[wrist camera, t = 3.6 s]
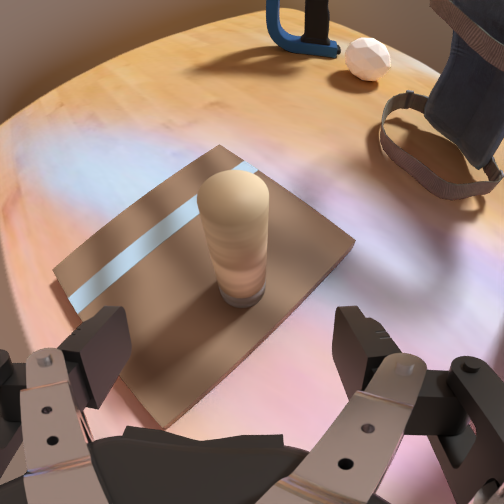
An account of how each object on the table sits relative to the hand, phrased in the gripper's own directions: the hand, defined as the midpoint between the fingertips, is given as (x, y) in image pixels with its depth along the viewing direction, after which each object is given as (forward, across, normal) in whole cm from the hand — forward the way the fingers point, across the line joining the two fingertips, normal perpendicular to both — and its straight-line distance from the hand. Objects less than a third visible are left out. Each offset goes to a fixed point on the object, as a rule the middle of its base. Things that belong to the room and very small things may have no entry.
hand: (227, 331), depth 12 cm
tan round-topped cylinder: (+13, 0, +3) cm, 14 cm away
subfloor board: (+16, +4, +2) cm, 17 cm away
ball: (+42, -20, -22) cm, 51 cm away
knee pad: (+28, -26, -9) cm, 39 cm away
